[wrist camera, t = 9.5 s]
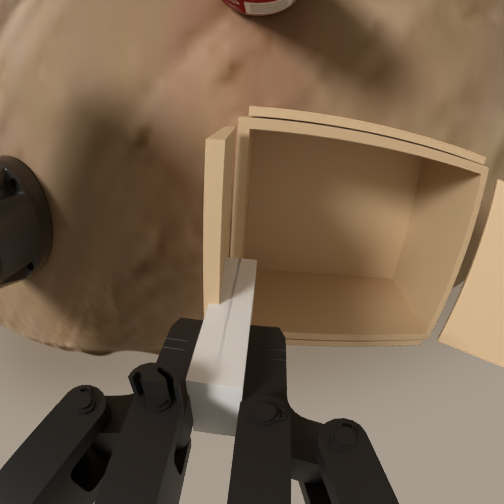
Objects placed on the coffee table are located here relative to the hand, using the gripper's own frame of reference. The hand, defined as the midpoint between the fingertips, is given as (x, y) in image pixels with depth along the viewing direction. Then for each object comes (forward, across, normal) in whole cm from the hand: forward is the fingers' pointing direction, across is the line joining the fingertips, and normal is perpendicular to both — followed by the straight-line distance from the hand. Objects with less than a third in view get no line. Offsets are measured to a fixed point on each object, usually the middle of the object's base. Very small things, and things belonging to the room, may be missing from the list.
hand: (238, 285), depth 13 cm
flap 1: (0, -1, 0) cm, 1 cm away
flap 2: (+2, +18, 0) cm, 18 cm away
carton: (+14, +7, 0) cm, 15 cm away
